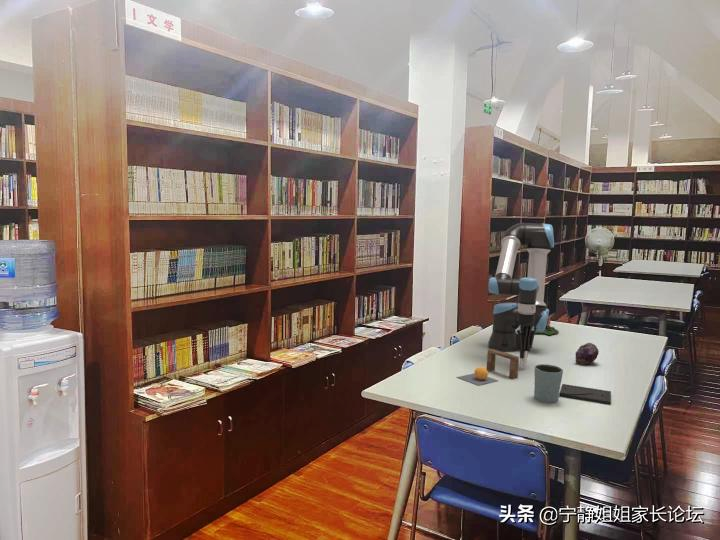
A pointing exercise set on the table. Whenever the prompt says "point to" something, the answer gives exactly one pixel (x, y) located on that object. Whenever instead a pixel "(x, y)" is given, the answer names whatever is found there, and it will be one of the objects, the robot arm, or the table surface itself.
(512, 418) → the table surface
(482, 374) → the ball
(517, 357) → the bridge
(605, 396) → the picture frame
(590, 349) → the rock
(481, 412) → the table surface
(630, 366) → the table surface
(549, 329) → the bonsai tree
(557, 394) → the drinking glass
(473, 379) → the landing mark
